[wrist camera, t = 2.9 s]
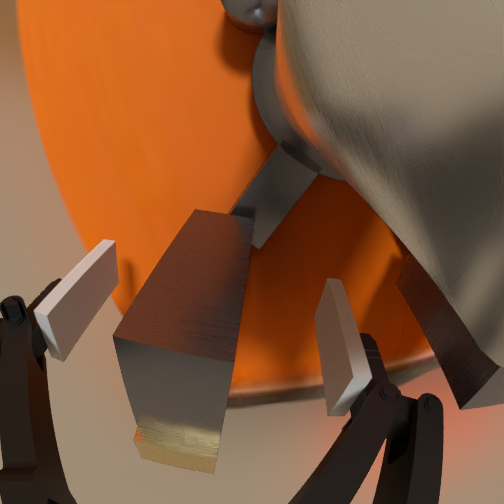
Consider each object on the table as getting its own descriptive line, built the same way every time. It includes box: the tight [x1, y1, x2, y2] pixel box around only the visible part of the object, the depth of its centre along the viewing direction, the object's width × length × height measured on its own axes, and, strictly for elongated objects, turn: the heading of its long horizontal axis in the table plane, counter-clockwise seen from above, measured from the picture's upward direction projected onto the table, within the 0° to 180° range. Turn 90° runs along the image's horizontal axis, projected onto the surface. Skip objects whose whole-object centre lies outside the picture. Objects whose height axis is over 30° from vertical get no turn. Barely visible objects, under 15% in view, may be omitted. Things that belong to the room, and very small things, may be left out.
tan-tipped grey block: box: [113, 209, 255, 474], centre depth 13 cm, size 7×3×12 cm, turn 171°
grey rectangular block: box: [396, 253, 504, 410], centre depth 12 cm, size 7×3×12 cm, turn 76°
